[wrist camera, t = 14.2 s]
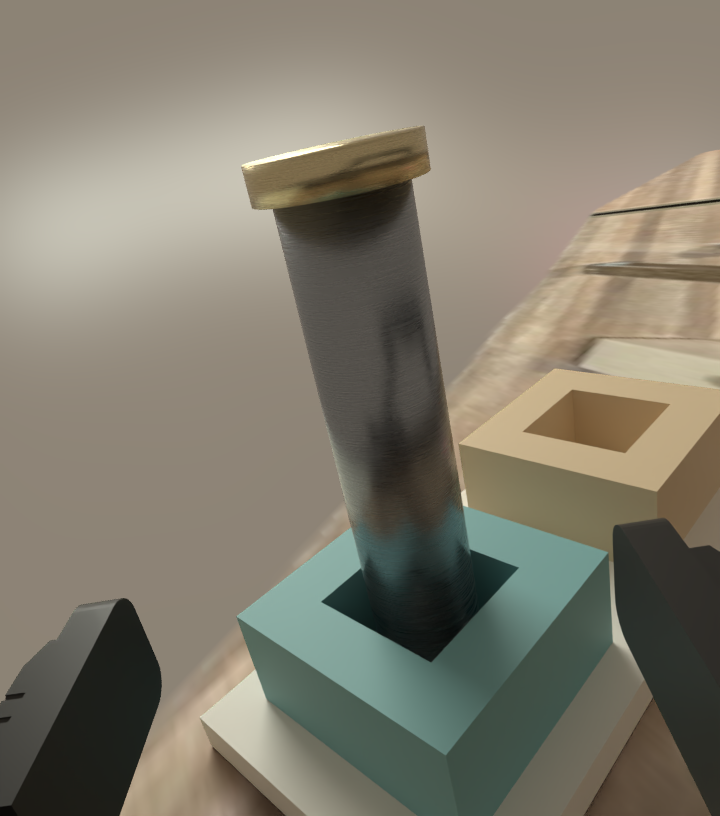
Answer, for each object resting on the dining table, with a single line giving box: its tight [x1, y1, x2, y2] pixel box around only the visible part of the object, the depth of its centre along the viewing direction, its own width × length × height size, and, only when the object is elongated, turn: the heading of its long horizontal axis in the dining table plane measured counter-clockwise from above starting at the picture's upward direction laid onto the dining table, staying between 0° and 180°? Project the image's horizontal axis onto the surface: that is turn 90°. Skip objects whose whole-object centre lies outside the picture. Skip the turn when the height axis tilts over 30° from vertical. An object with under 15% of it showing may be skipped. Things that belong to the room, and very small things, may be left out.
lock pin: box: [241, 126, 479, 662], centre depth 20 cm, size 5×5×18 cm
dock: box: [200, 369, 720, 816], centre depth 26 cm, size 25×12×6 cm, turn 136°
